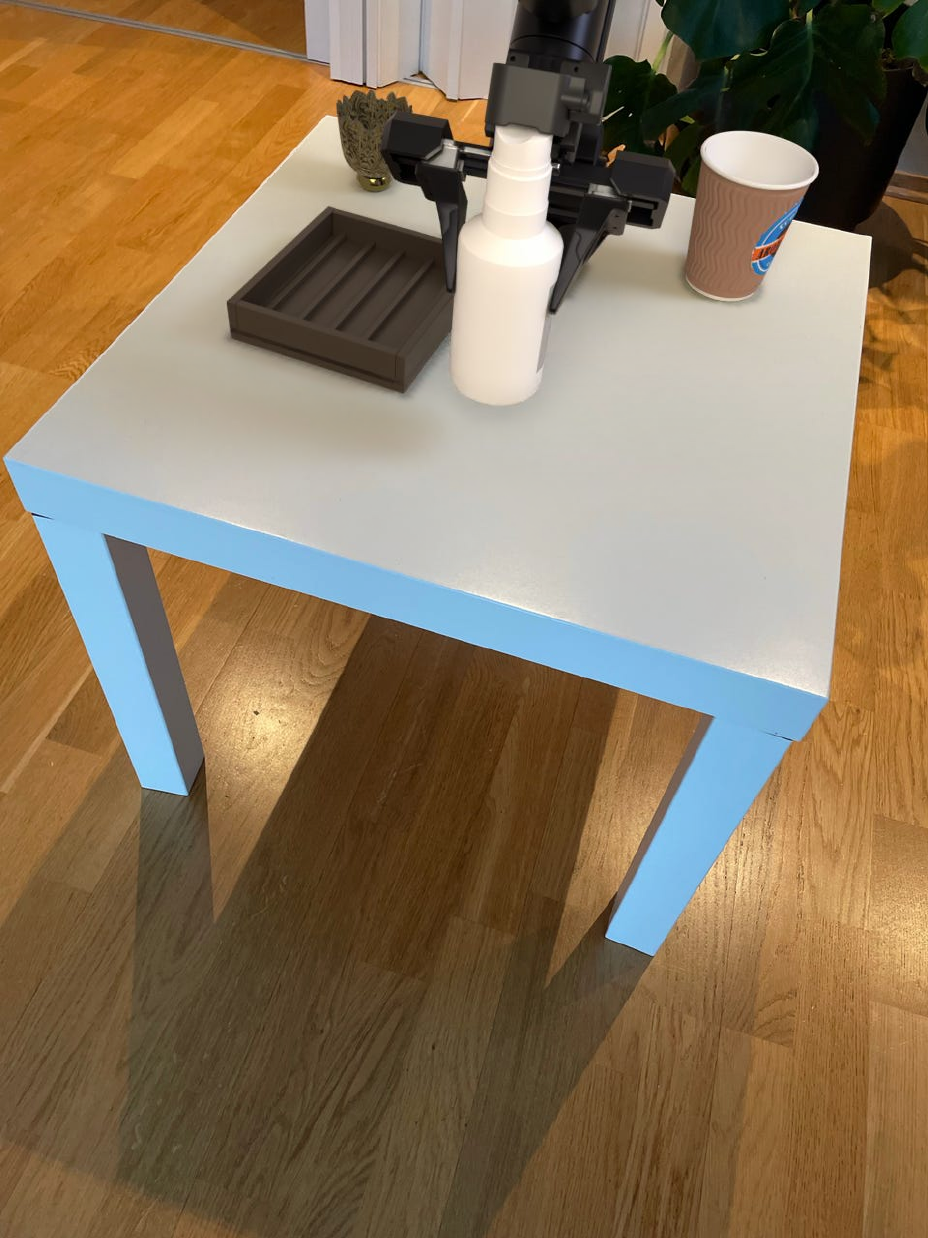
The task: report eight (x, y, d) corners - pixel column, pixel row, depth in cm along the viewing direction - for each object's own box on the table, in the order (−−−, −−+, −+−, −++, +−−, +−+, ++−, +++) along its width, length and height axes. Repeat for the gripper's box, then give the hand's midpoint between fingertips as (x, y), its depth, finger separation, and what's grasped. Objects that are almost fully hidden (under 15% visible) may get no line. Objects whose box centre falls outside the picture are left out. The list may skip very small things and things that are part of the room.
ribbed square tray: (329, 240, 91) (328, 205, 88) (484, 286, 88) (487, 251, 85) (231, 338, 80) (226, 301, 77) (403, 393, 77) (404, 357, 74)
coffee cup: (753, 325, 87) (799, 198, 78) (651, 287, 90) (683, 161, 80) (787, 275, 93) (833, 152, 84) (690, 242, 96) (724, 119, 86)
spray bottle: (559, 377, 70) (604, 129, 56) (503, 421, 66) (537, 167, 52) (487, 338, 72) (513, 90, 58) (429, 378, 69) (442, 124, 55)
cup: (330, 196, 96) (327, 114, 90) (347, 163, 101) (346, 83, 94) (402, 207, 96) (404, 126, 89) (416, 174, 100) (419, 94, 94)
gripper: (389, -37, 54) (337, 242, 56) (714, 17, 52) (649, 302, 54) (418, 58, 65) (374, 288, 67) (687, 105, 63) (635, 339, 65)
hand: (500, 303), depth 63 cm, fingers closed on spray bottle, 7 cm apart
